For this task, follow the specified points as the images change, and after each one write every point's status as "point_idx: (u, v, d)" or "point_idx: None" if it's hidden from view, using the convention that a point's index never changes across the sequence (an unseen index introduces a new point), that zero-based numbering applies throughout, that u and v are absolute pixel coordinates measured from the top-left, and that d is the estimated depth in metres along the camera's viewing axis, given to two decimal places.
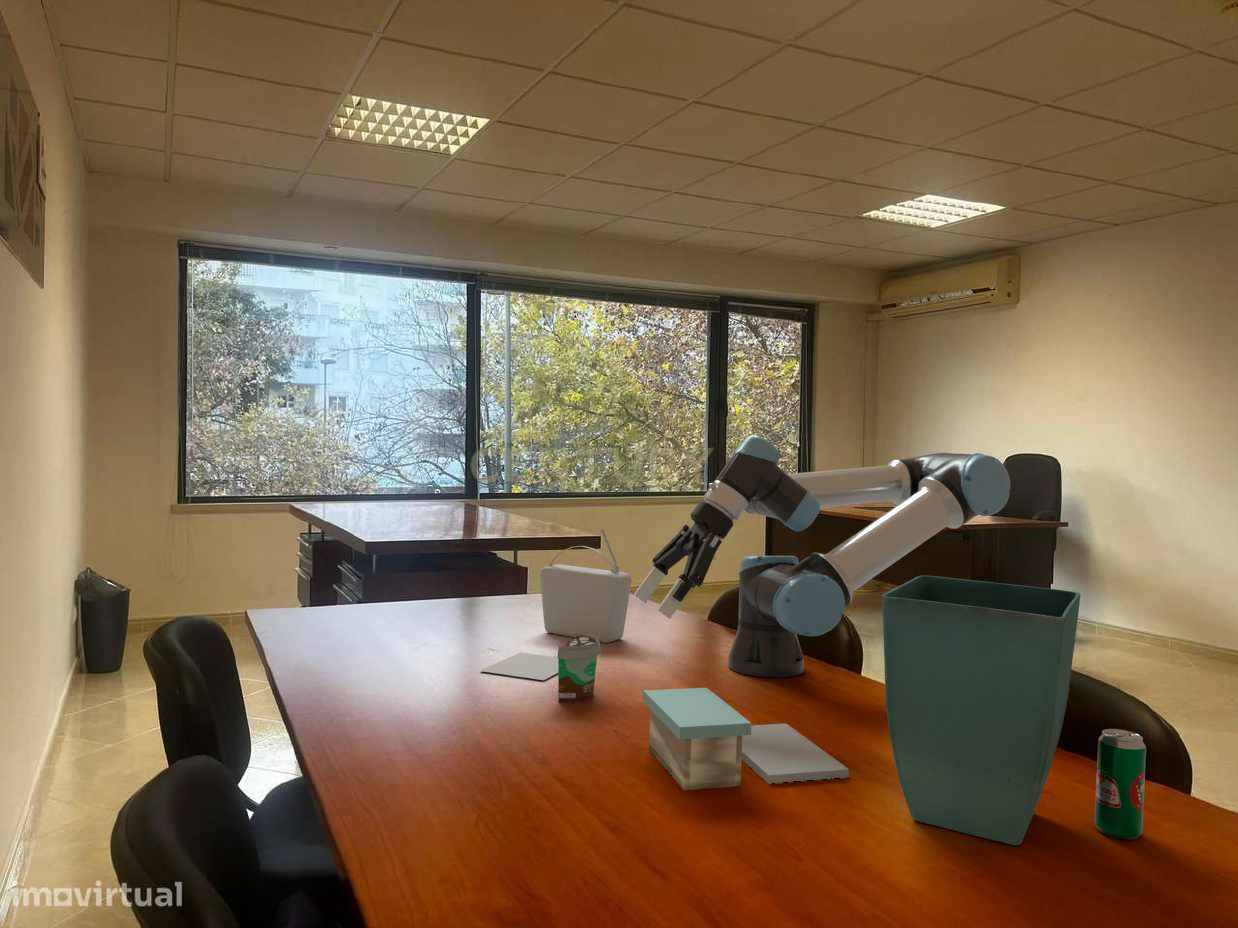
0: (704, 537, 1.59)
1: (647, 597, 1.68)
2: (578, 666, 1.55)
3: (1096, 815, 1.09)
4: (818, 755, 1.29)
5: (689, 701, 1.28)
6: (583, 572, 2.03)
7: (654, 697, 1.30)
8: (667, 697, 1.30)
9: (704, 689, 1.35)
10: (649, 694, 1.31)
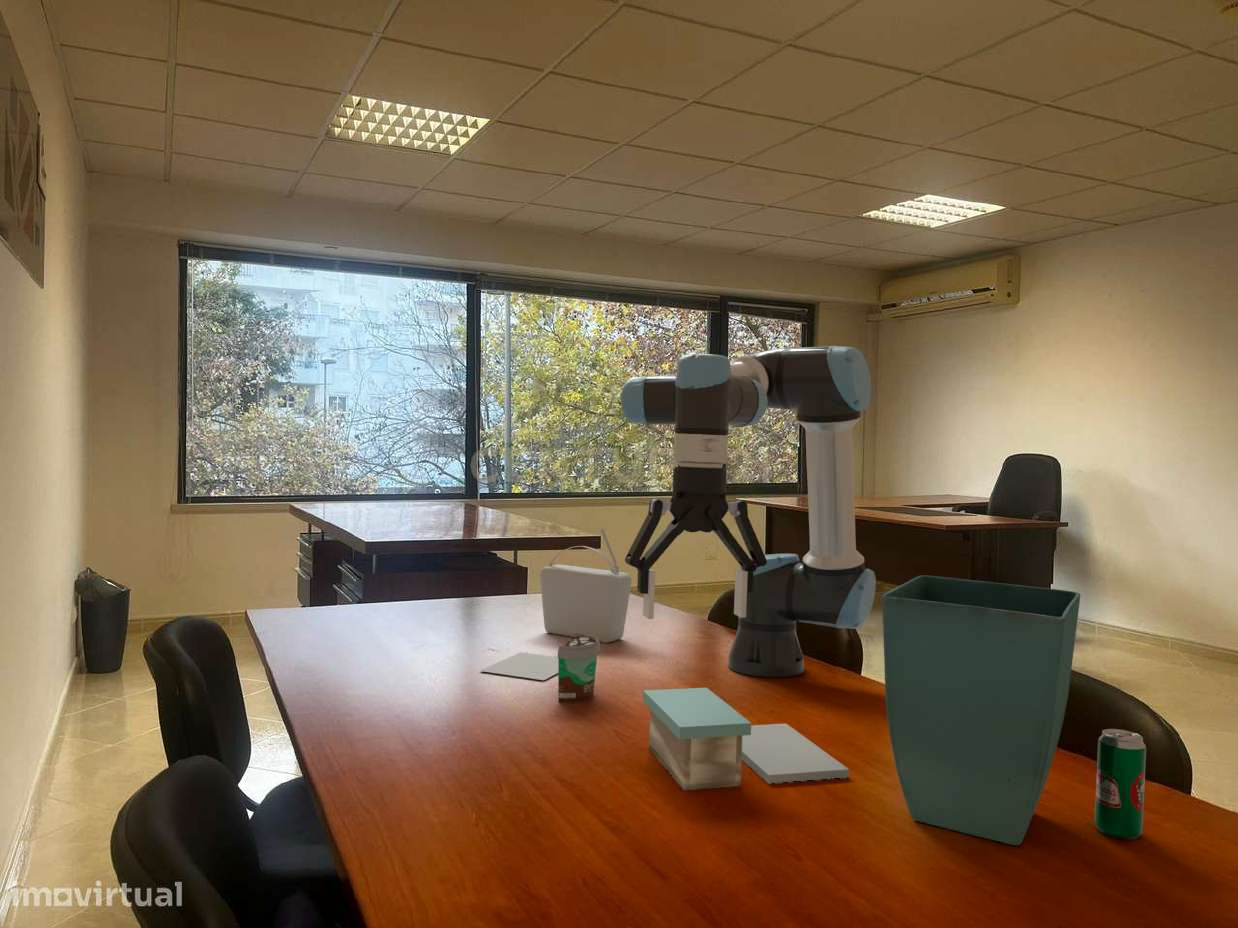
0: (727, 508, 1.26)
1: None
2: (578, 666, 1.55)
3: (1096, 815, 1.09)
4: (818, 755, 1.29)
5: (689, 701, 1.28)
6: (583, 572, 2.03)
7: (654, 697, 1.30)
8: (667, 697, 1.30)
9: (704, 689, 1.35)
10: (649, 694, 1.31)
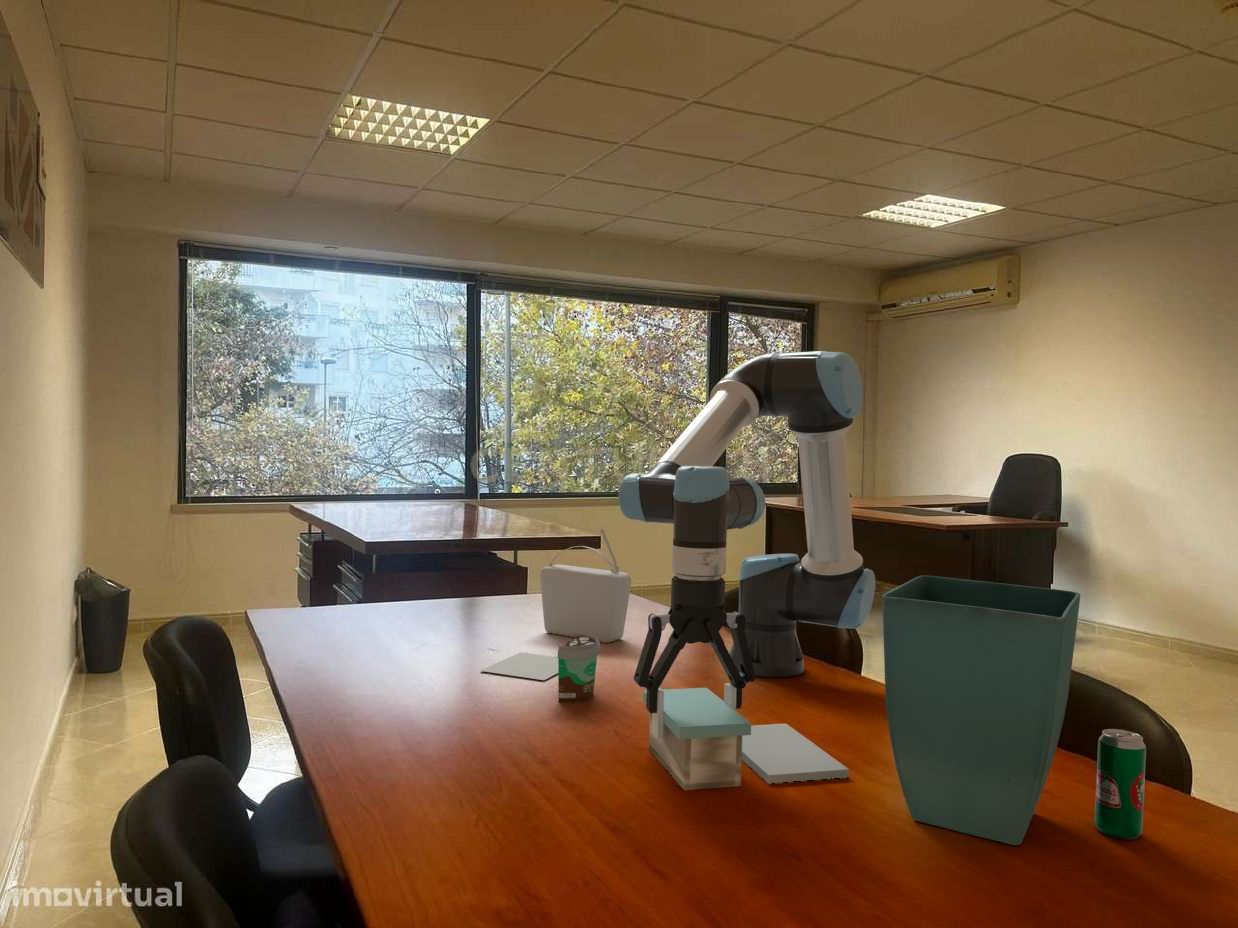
0: (726, 619, 1.26)
1: None
2: (578, 666, 1.55)
3: (1096, 815, 1.09)
4: (818, 755, 1.29)
5: (689, 701, 1.29)
6: (583, 572, 2.03)
7: None
8: (667, 697, 1.30)
9: (704, 689, 1.35)
10: None
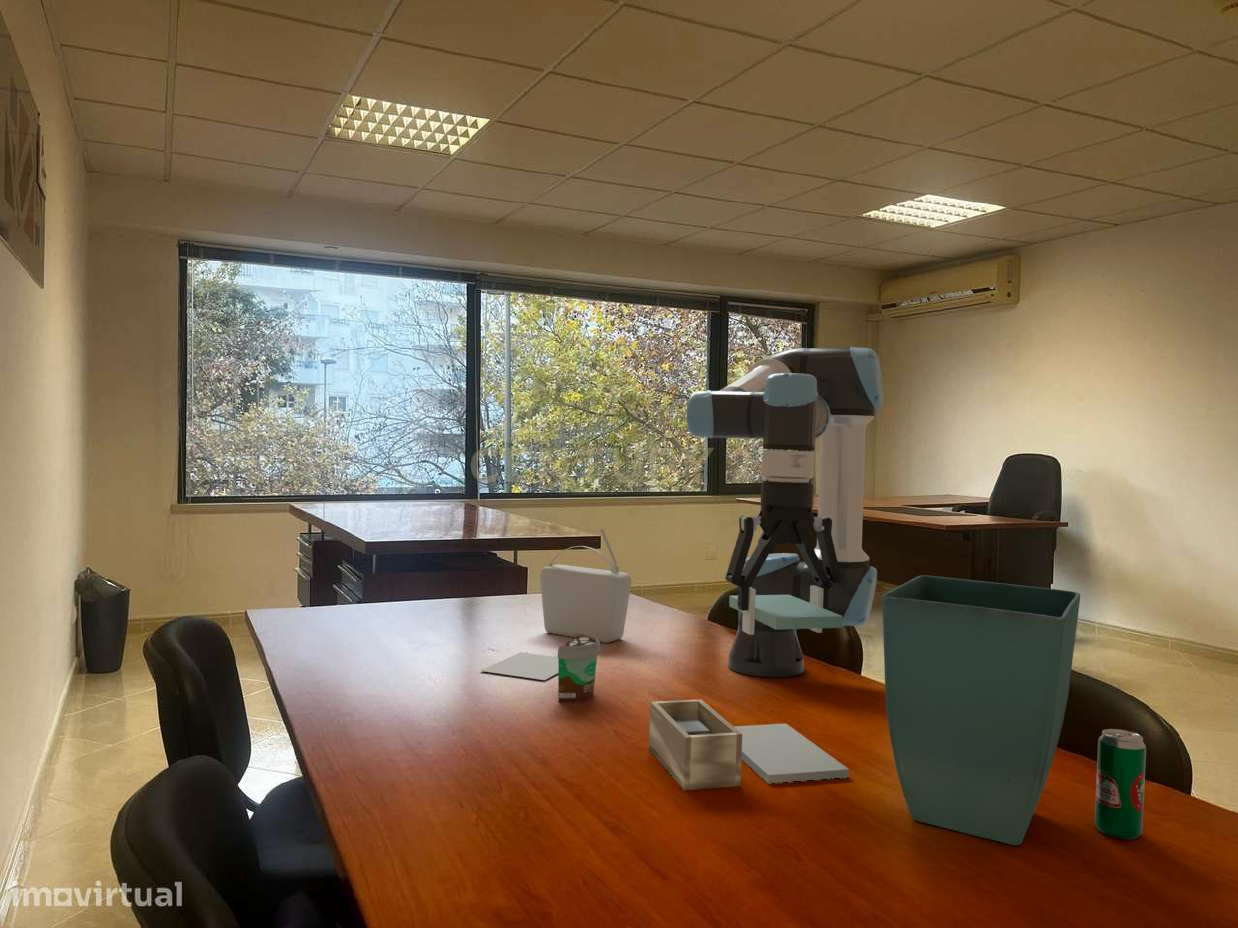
0: (813, 522, 1.31)
1: None
2: (578, 666, 1.55)
3: (1096, 815, 1.09)
4: (818, 755, 1.29)
5: (777, 602, 1.34)
6: (583, 572, 2.03)
7: None
8: None
9: (787, 596, 1.40)
10: (736, 598, 1.37)
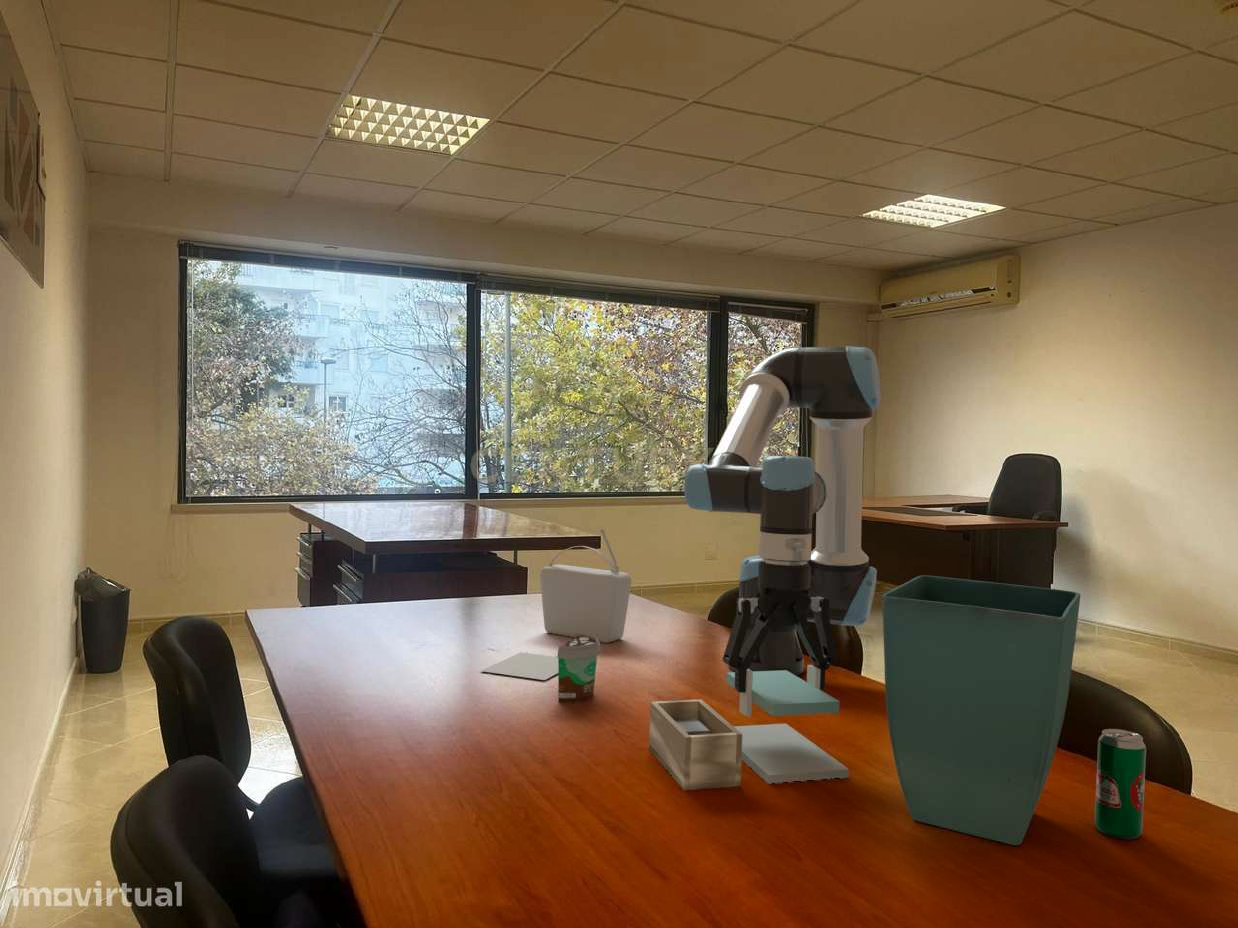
0: (810, 603, 1.32)
1: None
2: (578, 666, 1.55)
3: (1096, 815, 1.09)
4: (818, 755, 1.29)
5: (774, 682, 1.34)
6: (583, 572, 2.03)
7: None
8: None
9: (784, 672, 1.40)
10: (733, 676, 1.37)
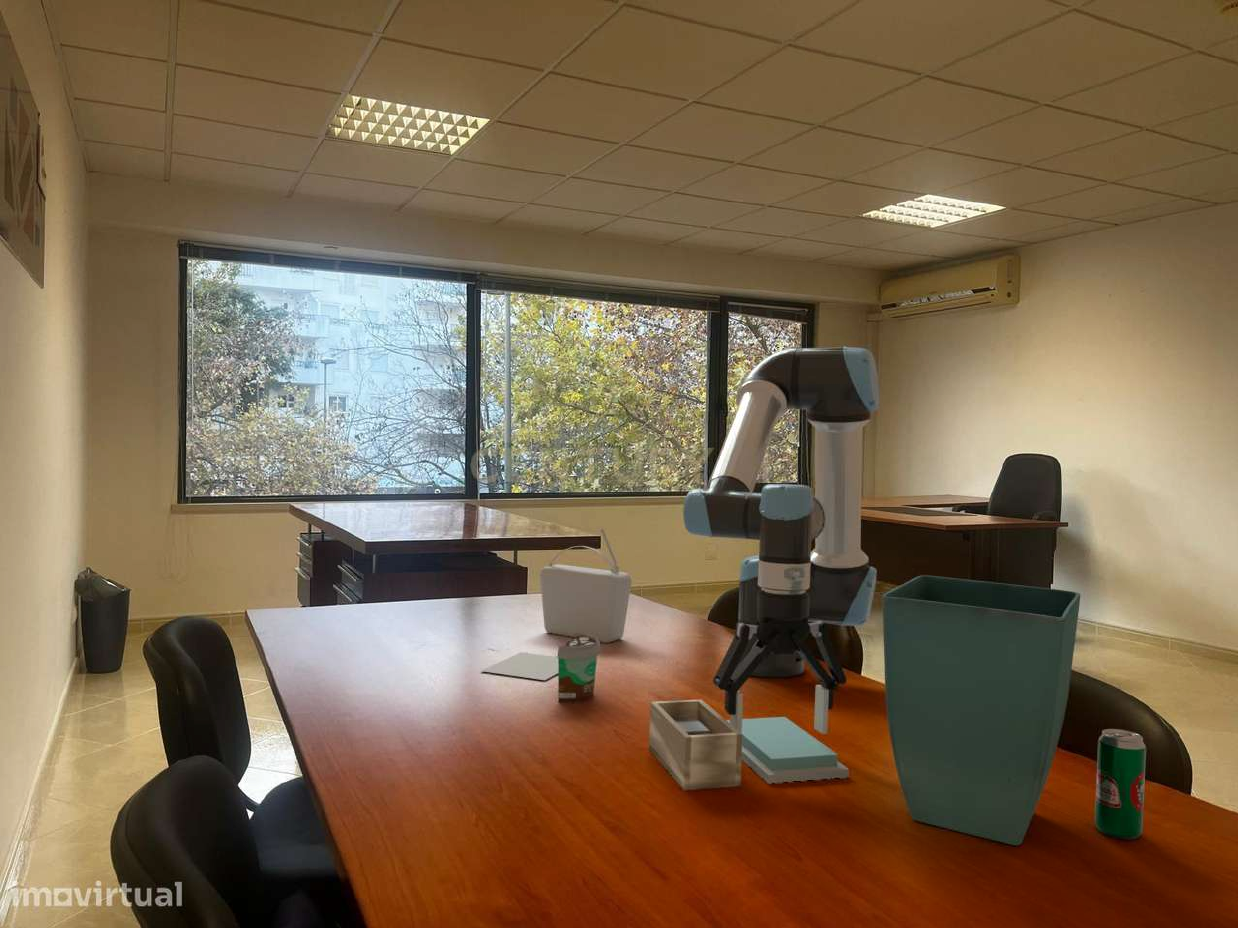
0: (810, 630, 1.32)
1: None
2: (578, 666, 1.55)
3: (1096, 815, 1.09)
4: None
5: (772, 731, 1.34)
6: (583, 572, 2.03)
7: None
8: (750, 727, 1.36)
9: (783, 719, 1.40)
10: None
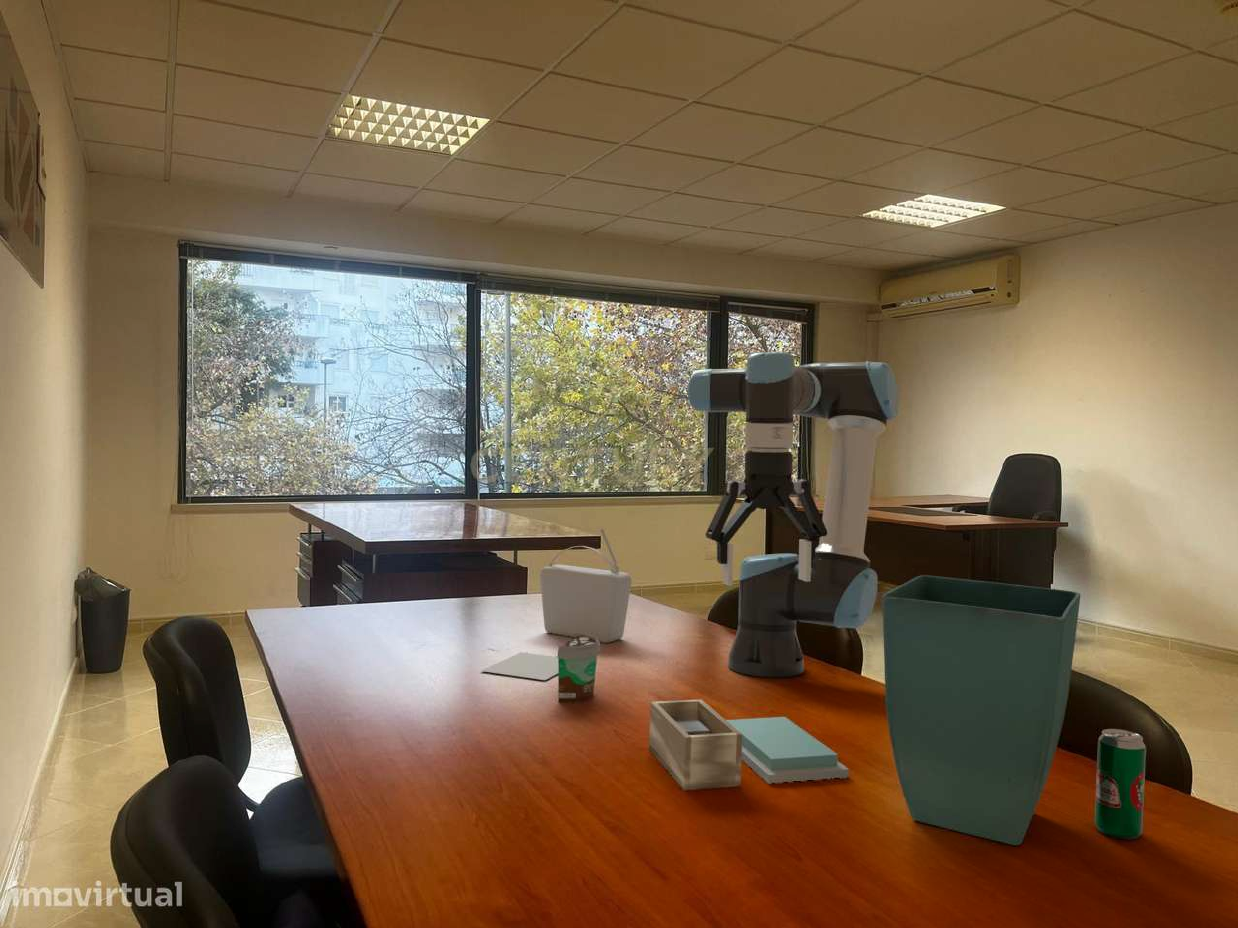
0: (793, 487, 1.44)
1: None
2: (578, 666, 1.55)
3: (1096, 815, 1.09)
4: None
5: (772, 731, 1.34)
6: (583, 572, 2.03)
7: (738, 727, 1.36)
8: (750, 727, 1.36)
9: (783, 719, 1.40)
10: (732, 724, 1.37)
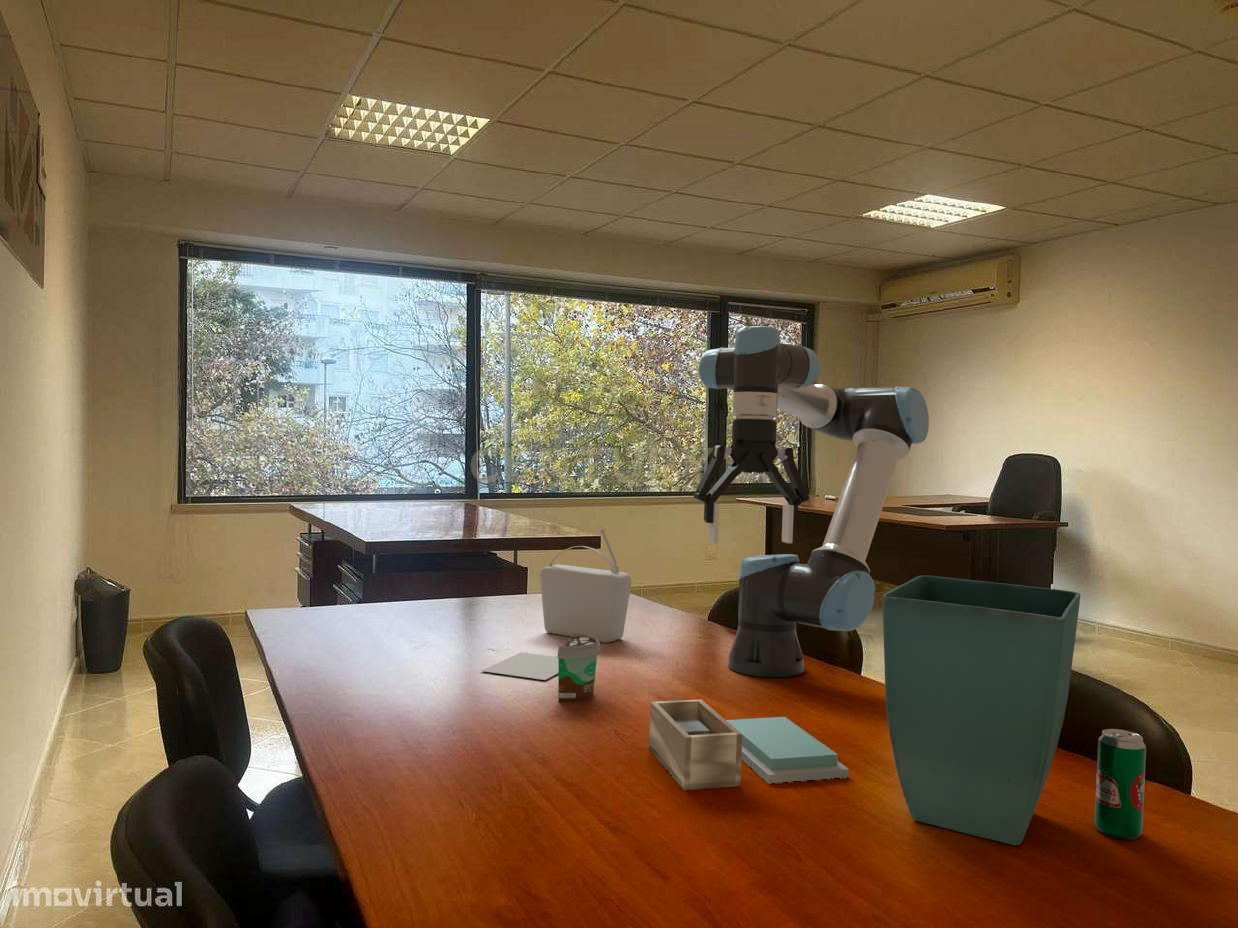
0: (777, 453, 1.53)
1: None
2: (578, 666, 1.55)
3: (1096, 815, 1.09)
4: None
5: (772, 731, 1.34)
6: (583, 572, 2.03)
7: (738, 727, 1.36)
8: (750, 727, 1.36)
9: (783, 719, 1.40)
10: (732, 724, 1.37)
